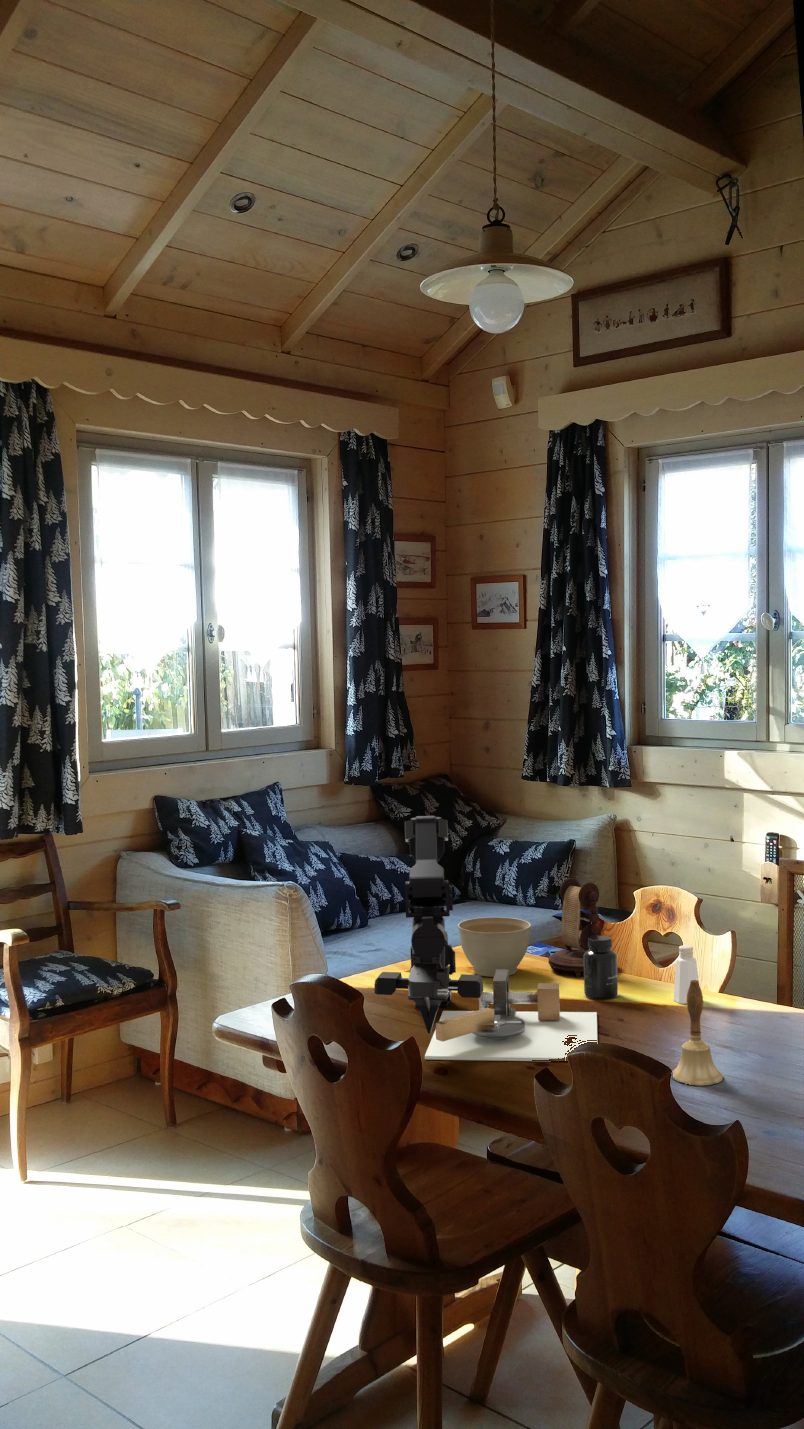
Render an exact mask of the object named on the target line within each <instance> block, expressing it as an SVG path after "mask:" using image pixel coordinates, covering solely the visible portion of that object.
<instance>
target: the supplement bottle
mask: <svg viewBox="0 0 804 1429" xmlns="http://www.w3.org/2000/svg"><path fill="white" fill-rule="evenodd" d="M588 947H589V950H587V951H586V952H585V953H584V971H583V989H584V990H583V991H584V992H583V993H584V995H585V997H586V998H588V999H591V1000H599V1001H602V1000H603V1001H605V1000H613V999H615V998H617V996H618V993H619V992H618V991H619V990H618V989H619V988H618V986H619V984H618V980H619V979H618V978H619V977H618V955H617V952H615V951H614V950H612V948H613V939H612V937H611V936H607V935H601V936H591V937H589V938H588Z"/></svg>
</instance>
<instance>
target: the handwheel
mask: <svg viewBox="0 0 804 1429" xmlns="http://www.w3.org/2000/svg"><path fill="white" fill-rule="evenodd" d="M473 1011H474V1012H470V1013H467V1014H463V1015H460V1016H457V1017H453V1018H450V1019H446V1020H443V1021H435V1030H436V1040H439V1041H442V1042H443V1041H447V1040H450V1039H453V1038H456V1037H460V1036H463V1035H466V1034H470V1033H473V1034H474V1035H477V1036H480V1037H486V1038H508V1037H513V1036H517V1035H520V1034H522V1033H523V1032H524V1031H525V1022H524V1021H523V1020H522V1019H520V1018H518V1017H514V1016H508V1015H494V1009H493V1008H490V1007H489V1008H484V1009H481V1010H479V1009H478V1010H473Z"/></svg>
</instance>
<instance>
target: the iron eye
mask: <svg viewBox="0 0 804 1429" xmlns="http://www.w3.org/2000/svg"><path fill="white" fill-rule="evenodd" d="M509 976H510V975H509V970H508V969H496V972H495V975H494V977H493V978H492V992H493V1001H494V1004H493V1007H492V1009H494V1015H508V1016H514V1014H515V1011H516V1007H511V1005H510V1004H507V992H510V978H509Z"/></svg>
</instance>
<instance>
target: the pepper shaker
mask: <svg viewBox="0 0 804 1429" xmlns="http://www.w3.org/2000/svg"><path fill="white" fill-rule="evenodd" d="M678 950H679V953H678V954H679V957H678V958H677V959H676V964H675V966H676V967H675V978H674V990H673V1002H675V1003H677V1004H679V1005H681V1004H682V1005H687V992H688V989H689V986H690V981H691V980H697V981H698V982H699V983H700V980H699V974H698V973H699V972H698V967H697V966H698V965H697V960H696V958H694V957H693V956H694V947H693V946H692V945H688V944H683V945H679V947H678Z"/></svg>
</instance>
